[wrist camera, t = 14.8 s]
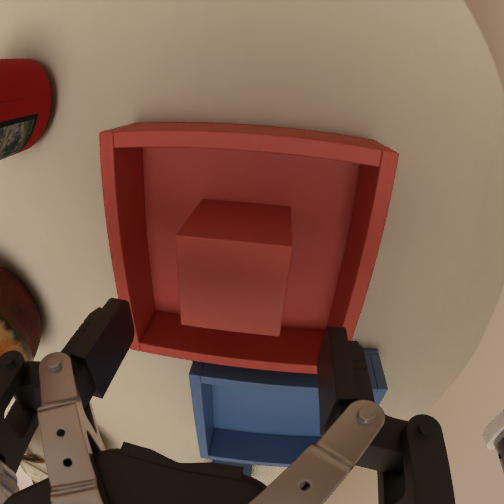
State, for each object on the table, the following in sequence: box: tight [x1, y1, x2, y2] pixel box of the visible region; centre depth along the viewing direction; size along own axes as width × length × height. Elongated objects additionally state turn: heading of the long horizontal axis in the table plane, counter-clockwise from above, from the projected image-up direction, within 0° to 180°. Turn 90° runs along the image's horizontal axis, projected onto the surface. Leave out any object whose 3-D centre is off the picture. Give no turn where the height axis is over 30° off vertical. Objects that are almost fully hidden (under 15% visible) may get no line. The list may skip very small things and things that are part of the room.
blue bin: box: [189, 349, 388, 467], centre depth 24 cm, size 14×14×4 cm
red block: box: [175, 199, 293, 336], centre depth 17 cm, size 5×5×5 cm
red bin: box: [99, 122, 399, 374], centre depth 18 cm, size 14×14×4 cm
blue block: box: [212, 459, 252, 477], centre depth 32 cm, size 5×5×5 cm
